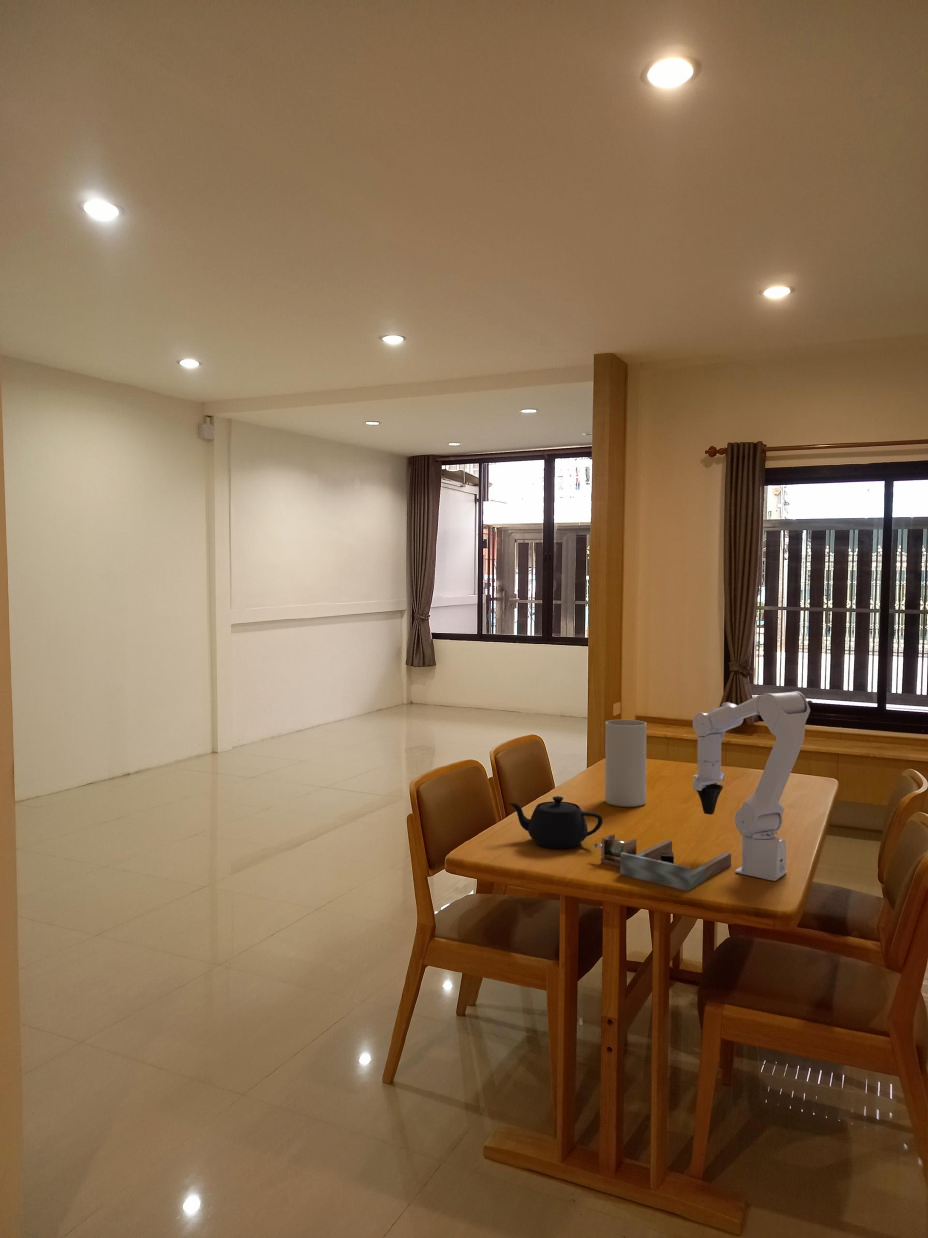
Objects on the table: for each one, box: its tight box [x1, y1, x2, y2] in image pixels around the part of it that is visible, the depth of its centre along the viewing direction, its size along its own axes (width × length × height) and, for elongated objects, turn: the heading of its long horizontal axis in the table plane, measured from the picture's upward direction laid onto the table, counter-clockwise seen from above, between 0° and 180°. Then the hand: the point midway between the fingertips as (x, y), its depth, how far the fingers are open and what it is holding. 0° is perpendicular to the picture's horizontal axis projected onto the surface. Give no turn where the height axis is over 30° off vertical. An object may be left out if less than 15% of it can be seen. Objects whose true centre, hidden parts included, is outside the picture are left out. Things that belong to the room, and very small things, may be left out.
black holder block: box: [660, 851, 675, 864], centre depth 205 cm, size 12×7×5 cm, turn 169°
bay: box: [619, 839, 732, 892], centre depth 205 cm, size 17×23×5 cm
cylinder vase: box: [604, 719, 648, 808], centre depth 269 cm, size 12×12×25 cm
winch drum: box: [594, 833, 637, 868], centre depth 211 cm, size 9×5×6 cm, turn 50°
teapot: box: [508, 795, 604, 850], centre depth 227 cm, size 25×16×12 cm, turn 74°
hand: (708, 813), depth 218 cm, fingers closed
